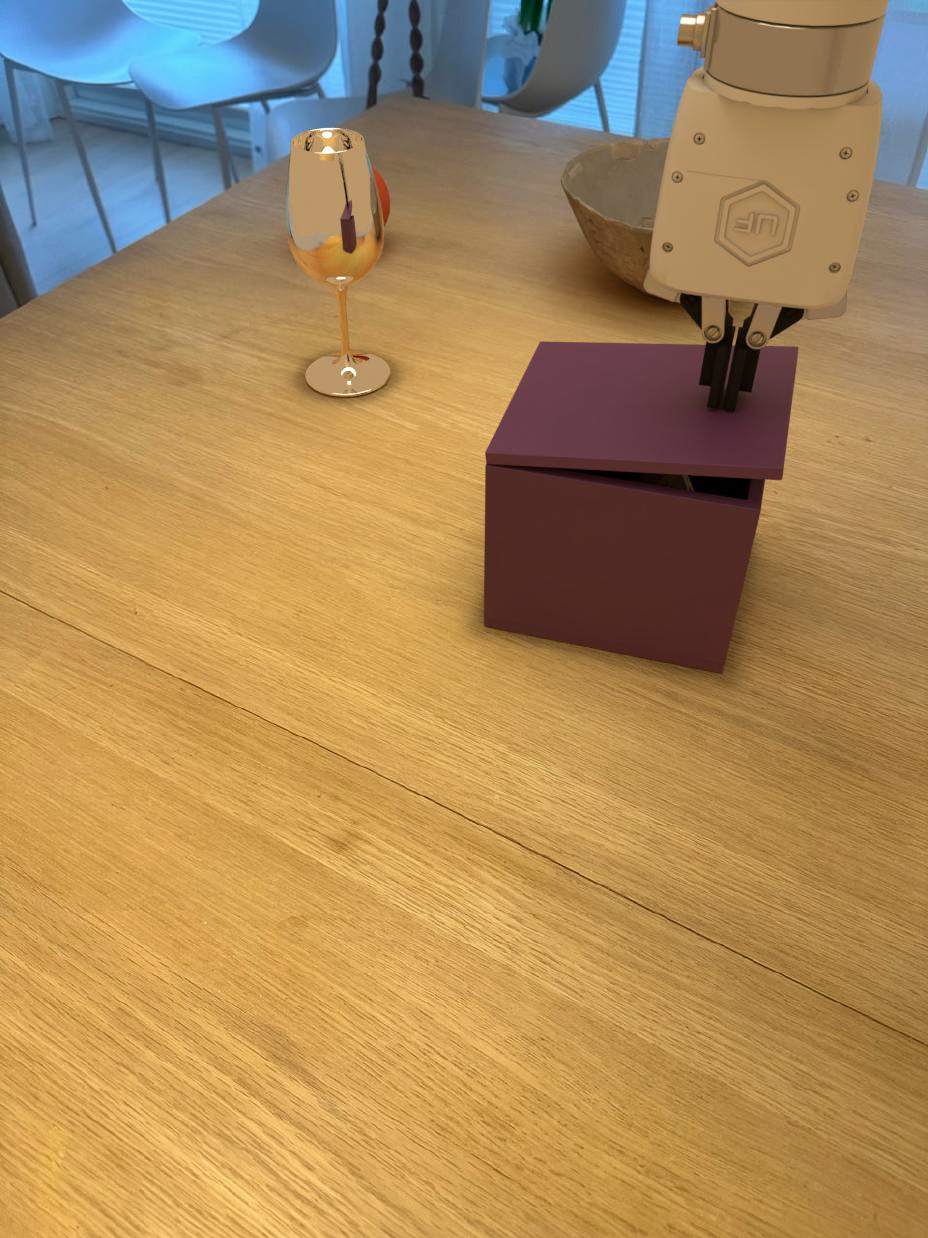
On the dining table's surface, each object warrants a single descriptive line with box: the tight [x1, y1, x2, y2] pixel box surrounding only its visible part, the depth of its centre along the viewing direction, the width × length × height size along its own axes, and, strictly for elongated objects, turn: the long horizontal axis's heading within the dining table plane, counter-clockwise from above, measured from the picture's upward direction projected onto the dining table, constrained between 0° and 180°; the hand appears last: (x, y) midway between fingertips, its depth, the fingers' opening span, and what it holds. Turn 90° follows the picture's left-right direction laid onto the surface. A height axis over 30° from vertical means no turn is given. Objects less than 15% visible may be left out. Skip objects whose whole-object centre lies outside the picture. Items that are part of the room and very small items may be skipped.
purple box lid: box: [484, 340, 799, 481], centre depth 63 cm, size 16×14×1 cm
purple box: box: [483, 462, 766, 674], centre depth 68 cm, size 16×14×13 cm
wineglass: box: [285, 127, 392, 398], centre depth 86 cm, size 8×8×20 cm
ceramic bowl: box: [560, 137, 670, 299], centre depth 104 cm, size 22×23×10 cm
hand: (723, 396), depth 61 cm, fingers closed
